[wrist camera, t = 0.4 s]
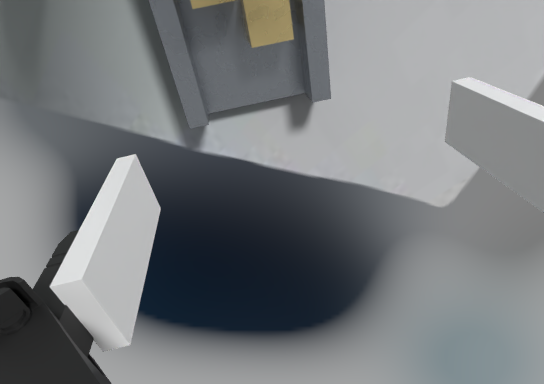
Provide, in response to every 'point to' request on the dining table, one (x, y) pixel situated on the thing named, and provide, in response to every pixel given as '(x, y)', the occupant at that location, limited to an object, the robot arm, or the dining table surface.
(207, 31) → the slot rail
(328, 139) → the dining table surface
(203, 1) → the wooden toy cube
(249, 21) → the tan yellow cube
